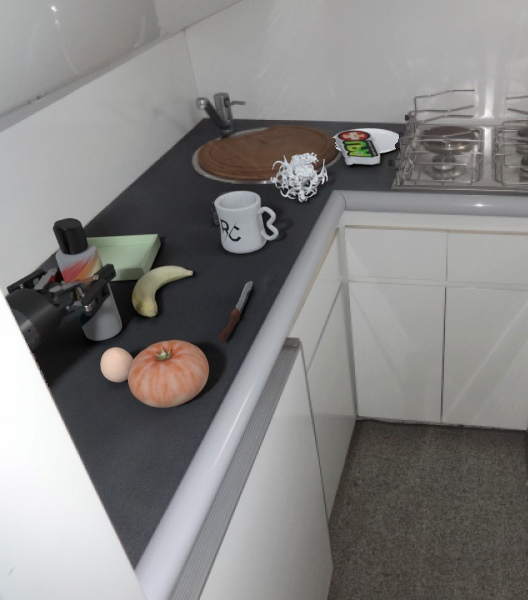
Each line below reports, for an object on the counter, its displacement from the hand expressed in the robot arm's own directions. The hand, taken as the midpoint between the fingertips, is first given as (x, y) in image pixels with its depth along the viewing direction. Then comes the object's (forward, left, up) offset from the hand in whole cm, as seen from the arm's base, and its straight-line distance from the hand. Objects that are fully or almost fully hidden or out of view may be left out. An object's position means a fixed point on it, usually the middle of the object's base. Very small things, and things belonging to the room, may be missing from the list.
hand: (94, 266), depth 91 cm
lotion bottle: (-1, -2, -11) cm, 11 cm away
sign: (+50, +71, -9) cm, 88 cm away
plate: (+48, +79, -11) cm, 94 cm away
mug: (+21, +25, -12) cm, 34 cm away
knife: (+21, 0, -12) cm, 24 cm away
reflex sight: (+14, +40, -12) cm, 44 cm away
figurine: (+30, +50, -1) cm, 58 cm away
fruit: (+6, +8, -12) cm, 15 cm away
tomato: (+13, -18, -12) cm, 25 cm away
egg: (+5, -14, -12) cm, 19 cm away
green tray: (-6, +21, -12) cm, 24 cm away
